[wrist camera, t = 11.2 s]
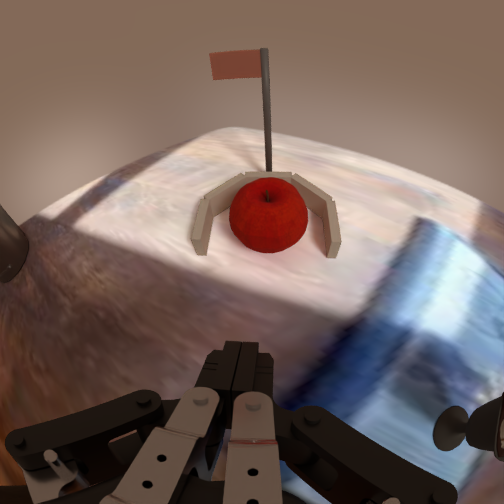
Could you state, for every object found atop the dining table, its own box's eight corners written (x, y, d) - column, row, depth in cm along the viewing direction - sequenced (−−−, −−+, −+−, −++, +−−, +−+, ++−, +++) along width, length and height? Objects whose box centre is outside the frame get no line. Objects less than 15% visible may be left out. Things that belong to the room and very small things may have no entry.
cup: (335, 258, 28) (379, 101, 13) (197, 255, 30) (142, 105, 15) (324, 178, 35) (339, 51, 20) (214, 177, 37) (190, 54, 22)
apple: (252, 203, 33) (247, 155, 27) (313, 222, 31) (321, 173, 25) (221, 253, 30) (208, 207, 24) (290, 278, 27) (295, 234, 21)
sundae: (468, 453, 14) (576, 441, 2) (420, 462, 15) (536, 470, 3) (476, 396, 18) (582, 354, 5) (431, 399, 19) (548, 360, 6)
